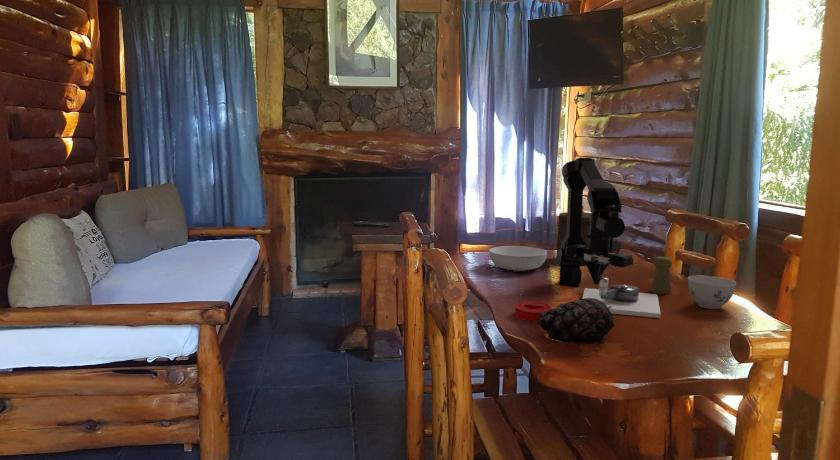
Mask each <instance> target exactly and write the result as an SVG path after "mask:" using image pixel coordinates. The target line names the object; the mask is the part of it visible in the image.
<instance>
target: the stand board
mask: <svg viewBox="0 0 840 460" xmlns="http://www.w3.org/2000/svg"><path fill="white" fill-rule="evenodd" d="M581 297H582V298H581V299H585V298H595V299H598V300H600V301H602V302H603V303H605V304H606V306H607V307H608V309H609V310H610V312H611V313H612V314H613V315H615V314H616V315H624V316H633V317H634V316H636V317H645V318H658V319H661V309H660V303H659V296H658V293H648V292H647V293H646V292H639V297H638V300H637V301H633V302H623V301H617V300H613V299H607V300H605V299H601V296H599V288H589V287H588V288H587V287H585V288H584V291H583V294H582V296H581Z"/></svg>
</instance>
